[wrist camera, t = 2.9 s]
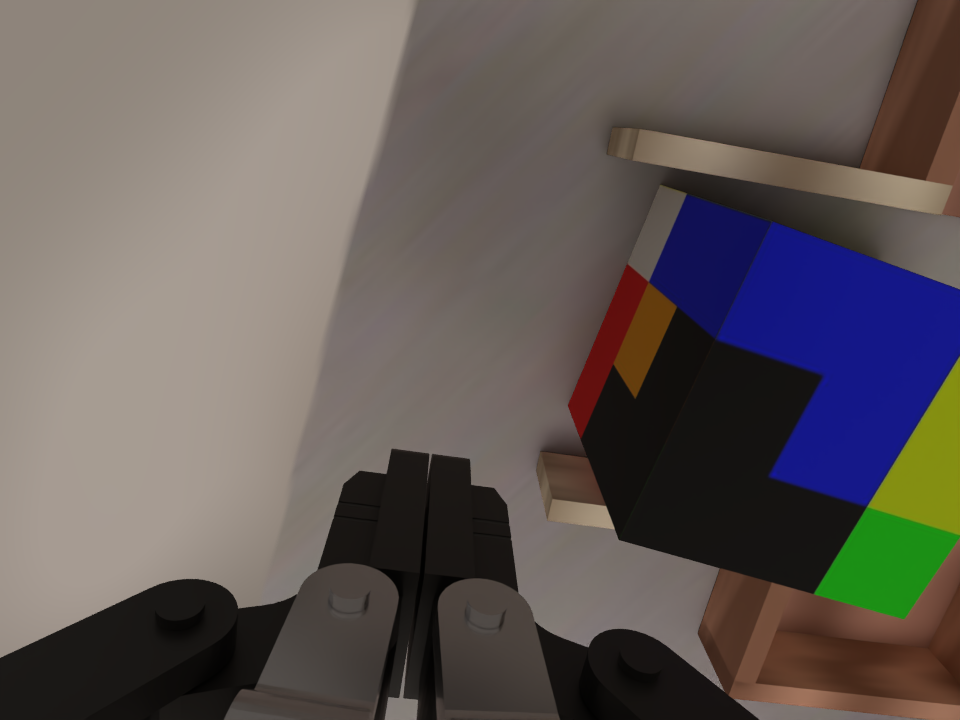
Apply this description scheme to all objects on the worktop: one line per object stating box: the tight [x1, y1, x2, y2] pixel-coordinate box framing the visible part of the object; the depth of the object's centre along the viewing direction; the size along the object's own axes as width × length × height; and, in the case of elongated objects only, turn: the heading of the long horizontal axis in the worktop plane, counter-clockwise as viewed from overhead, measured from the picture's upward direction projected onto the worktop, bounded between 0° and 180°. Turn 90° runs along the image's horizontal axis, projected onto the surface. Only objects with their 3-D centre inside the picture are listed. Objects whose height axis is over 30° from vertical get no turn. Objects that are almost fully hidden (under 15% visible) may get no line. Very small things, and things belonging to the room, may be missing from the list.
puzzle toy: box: [568, 185, 960, 619], centre depth 24 cm, size 10×10×10 cm
